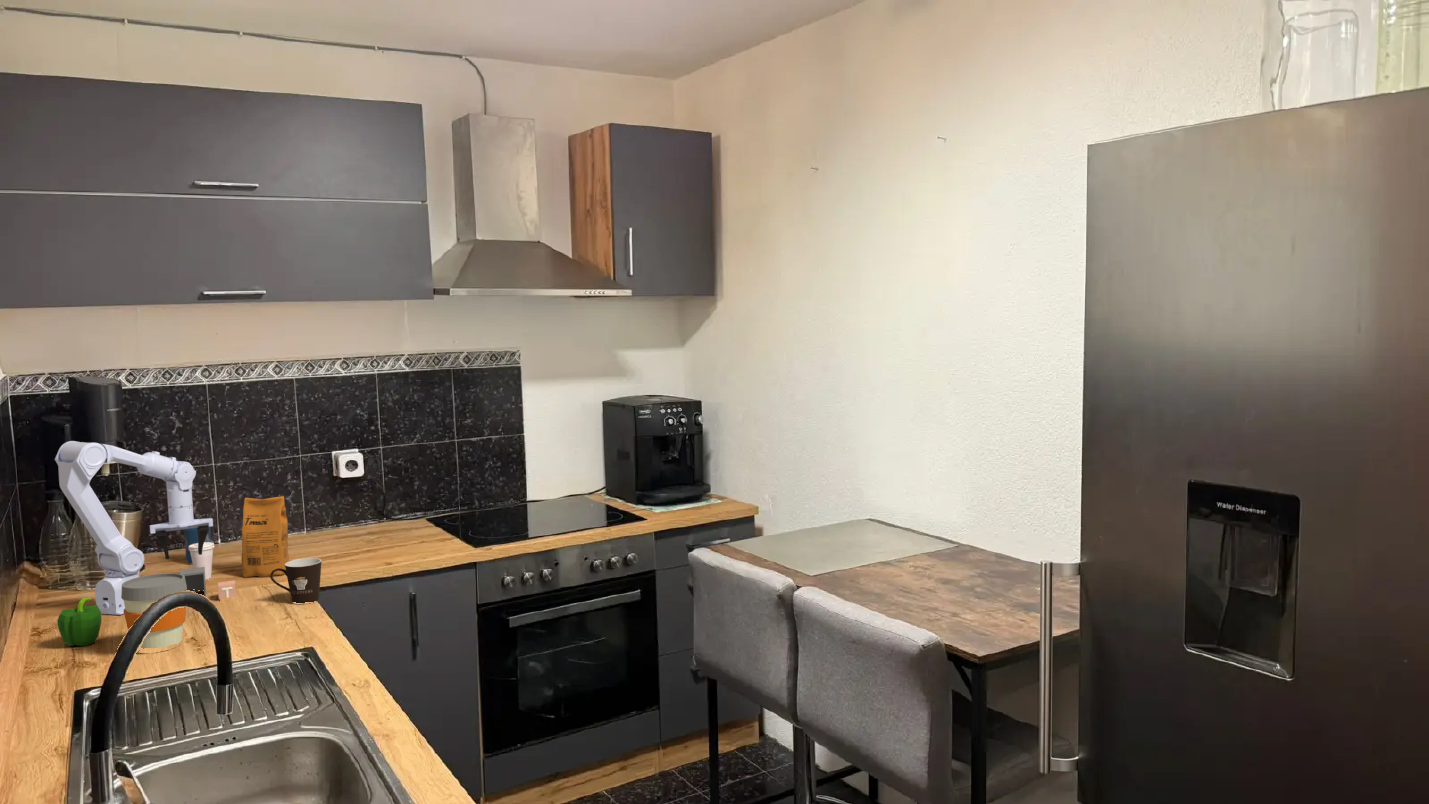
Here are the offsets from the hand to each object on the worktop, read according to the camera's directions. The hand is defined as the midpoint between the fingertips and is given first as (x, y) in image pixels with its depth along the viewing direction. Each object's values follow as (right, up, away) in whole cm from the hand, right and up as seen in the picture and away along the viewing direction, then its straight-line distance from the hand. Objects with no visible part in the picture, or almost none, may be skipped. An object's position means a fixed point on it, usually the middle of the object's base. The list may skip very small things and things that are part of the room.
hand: (183, 556), depth 253 cm
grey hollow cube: (+4, -10, -3) cm, 11 cm away
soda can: (-13, -7, +31) cm, 34 cm away
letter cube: (+15, -10, -6) cm, 19 cm away
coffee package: (+14, -8, +17) cm, 24 cm away
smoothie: (-1, -9, +12) cm, 15 cm away
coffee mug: (+35, -10, -9) cm, 38 cm away
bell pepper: (0, -13, -40) cm, 42 cm away
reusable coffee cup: (+18, -13, -43) cm, 48 cm away
